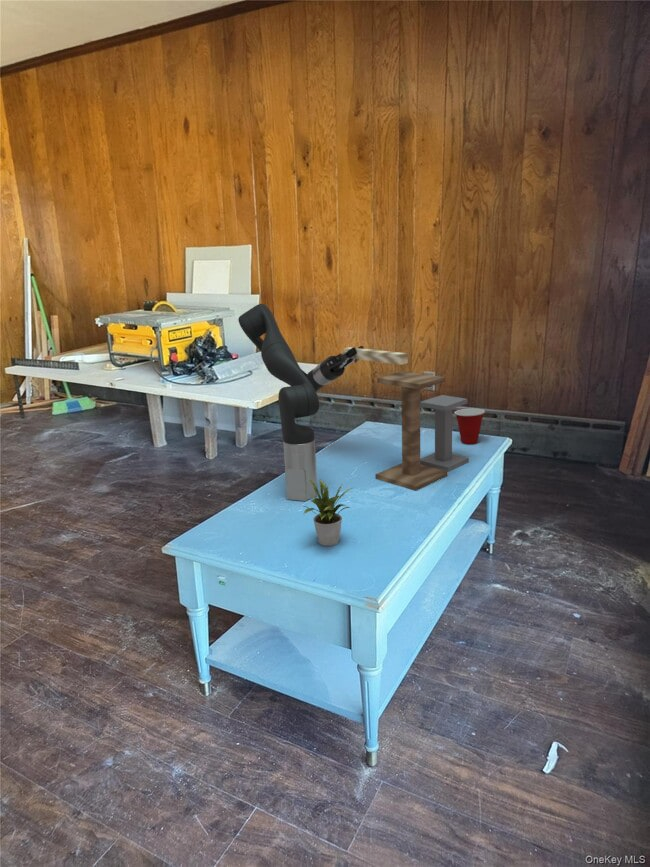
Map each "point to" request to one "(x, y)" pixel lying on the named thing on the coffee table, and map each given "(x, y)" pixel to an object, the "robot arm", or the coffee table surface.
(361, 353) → the birch block
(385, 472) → the walnut stand
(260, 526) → the coffee table surface
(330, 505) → the house plant
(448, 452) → the charcoal stand
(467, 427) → the plastic cup
